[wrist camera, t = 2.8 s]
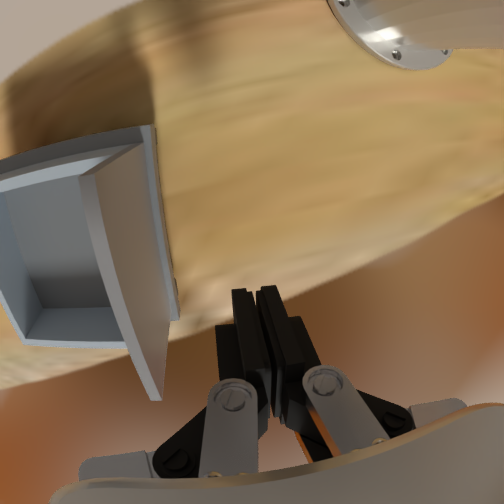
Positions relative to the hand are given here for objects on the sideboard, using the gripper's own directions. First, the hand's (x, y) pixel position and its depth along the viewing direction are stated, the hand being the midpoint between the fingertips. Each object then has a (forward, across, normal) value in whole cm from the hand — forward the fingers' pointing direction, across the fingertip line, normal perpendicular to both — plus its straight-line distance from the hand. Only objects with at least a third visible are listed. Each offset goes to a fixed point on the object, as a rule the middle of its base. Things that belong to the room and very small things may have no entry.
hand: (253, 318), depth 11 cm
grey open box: (+12, +10, -1) cm, 16 cm away
